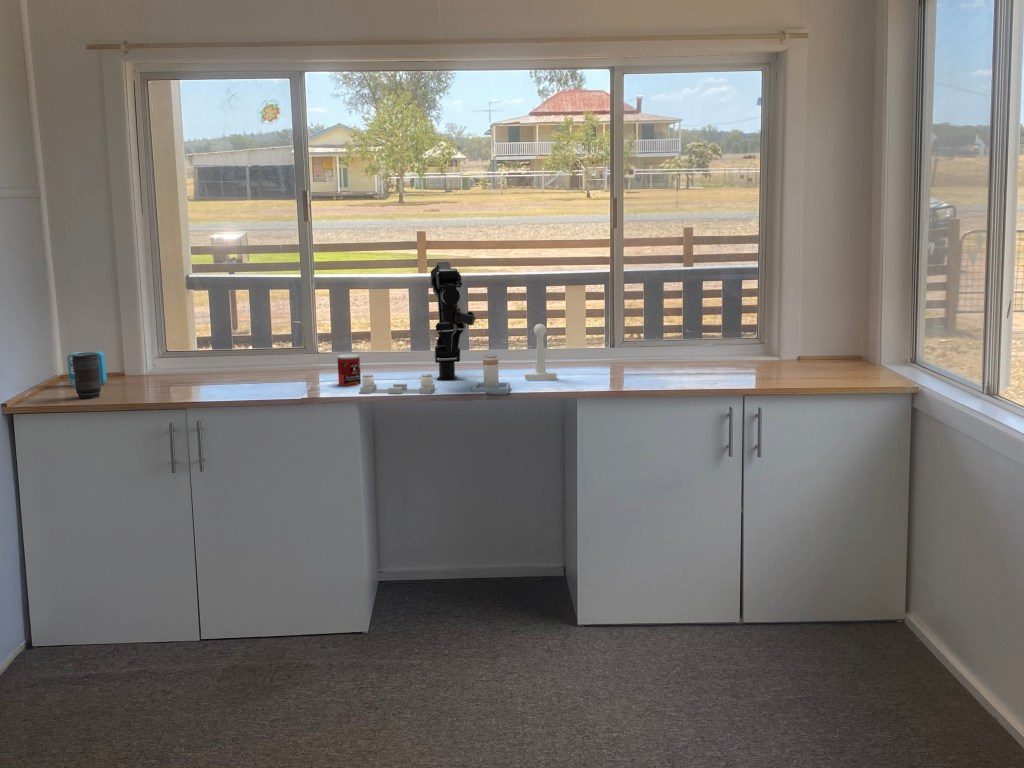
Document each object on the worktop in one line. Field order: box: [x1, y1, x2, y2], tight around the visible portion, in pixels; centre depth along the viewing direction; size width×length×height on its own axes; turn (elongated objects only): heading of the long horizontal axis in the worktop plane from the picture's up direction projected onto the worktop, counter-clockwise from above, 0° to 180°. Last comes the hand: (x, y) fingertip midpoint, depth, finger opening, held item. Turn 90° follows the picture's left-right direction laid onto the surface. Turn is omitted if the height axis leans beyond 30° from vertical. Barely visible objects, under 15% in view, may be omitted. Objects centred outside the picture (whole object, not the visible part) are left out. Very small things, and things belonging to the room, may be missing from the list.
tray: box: [471, 382, 511, 396], centre depth 340 cm, size 12×12×2 cm
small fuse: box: [420, 373, 434, 393], centre depth 337 cm, size 4×4×6 cm
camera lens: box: [72, 351, 102, 399], centre depth 344 cm, size 8×8×15 cm
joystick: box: [524, 323, 557, 381], centre depth 362 cm, size 11×8×20 cm
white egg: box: [361, 373, 375, 392], centre depth 340 cm, size 4×4×6 cm
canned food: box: [337, 353, 362, 387], centre depth 354 cm, size 8×8×11 cm
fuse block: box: [358, 383, 438, 395], centre depth 339 cm, size 9×25×3 cm, turn 83°
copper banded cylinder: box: [482, 353, 500, 388], centre depth 339 cm, size 5×5×12 cm
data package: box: [66, 350, 108, 387], centre depth 370 cm, size 12×4×12 cm, turn 98°
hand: (453, 351), depth 347 cm, fingers open, 9 cm apart
